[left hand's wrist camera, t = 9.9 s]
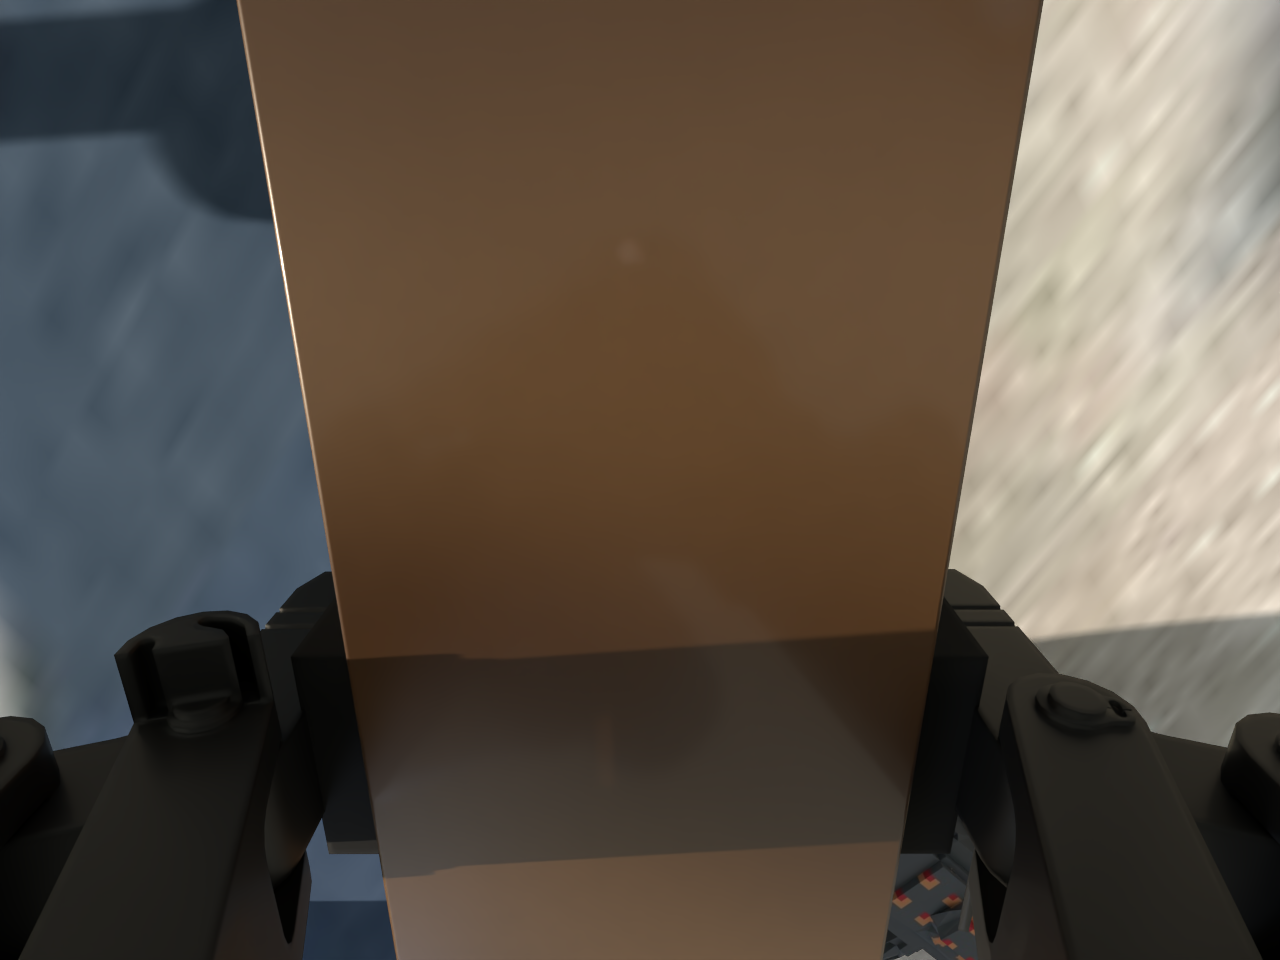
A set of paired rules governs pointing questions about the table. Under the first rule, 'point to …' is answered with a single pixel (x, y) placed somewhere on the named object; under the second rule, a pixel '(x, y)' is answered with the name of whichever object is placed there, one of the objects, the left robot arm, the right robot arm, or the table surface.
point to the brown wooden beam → (639, 440)
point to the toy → (932, 904)
